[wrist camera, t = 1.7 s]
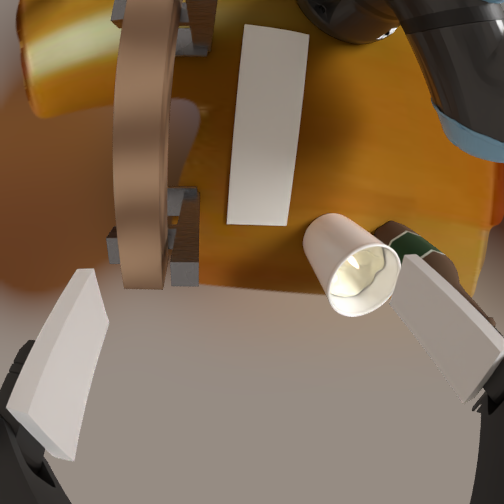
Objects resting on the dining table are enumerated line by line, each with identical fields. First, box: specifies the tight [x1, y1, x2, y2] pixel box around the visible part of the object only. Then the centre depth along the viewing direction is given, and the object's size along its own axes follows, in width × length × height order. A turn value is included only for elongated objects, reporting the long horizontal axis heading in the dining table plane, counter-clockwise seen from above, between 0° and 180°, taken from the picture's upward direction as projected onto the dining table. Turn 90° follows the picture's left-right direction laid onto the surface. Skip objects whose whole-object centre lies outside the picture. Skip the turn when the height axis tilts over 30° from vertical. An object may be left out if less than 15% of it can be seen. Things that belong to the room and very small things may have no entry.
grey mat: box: [227, 24, 309, 226], centre depth 33 cm, size 26×8×1 cm, turn 175°
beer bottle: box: [374, 221, 496, 327], centre depth 34 cm, size 8×8×24 cm
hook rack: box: [106, 0, 218, 286], centre depth 24 cm, size 24×8×18 cm, turn 175°
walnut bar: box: [113, 0, 183, 290], centre depth 19 cm, size 24×3×5 cm, turn 175°
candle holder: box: [303, 213, 401, 317], centre depth 37 cm, size 10×10×12 cm
